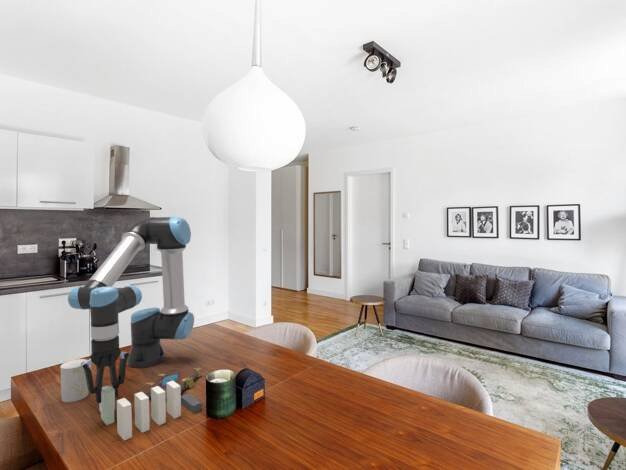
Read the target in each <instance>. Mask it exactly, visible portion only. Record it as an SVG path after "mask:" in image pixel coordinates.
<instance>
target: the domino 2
mask: <svg viewBox="0 0 626 470" xmlns="http://www.w3.org/2000/svg"><path fill="white" fill-rule="evenodd" d="M132 414H133V413H132V403H131V402H130V401H129V400H128V399H126V398H125V397H122V398H120V399H117V400H116V421H117V422H116V423H117V427H116V429H117V431H116V432H117V434H118V435H119V437H121V439H122V440H123V441H127V440H129V439H131V438H133V422H132V421H133V419H132V418H133V417H132Z"/></svg>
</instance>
